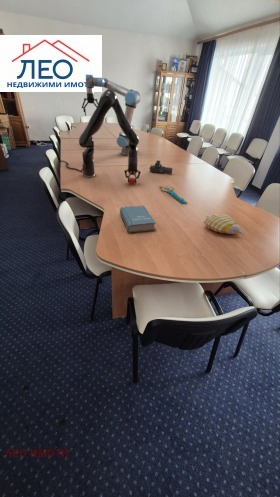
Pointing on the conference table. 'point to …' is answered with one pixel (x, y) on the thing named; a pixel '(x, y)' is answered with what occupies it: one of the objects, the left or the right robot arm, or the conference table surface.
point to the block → (132, 181)
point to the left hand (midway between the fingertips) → (132, 182)
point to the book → (137, 219)
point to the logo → (166, 189)
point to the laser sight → (160, 168)
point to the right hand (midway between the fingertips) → (91, 116)
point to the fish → (223, 224)
